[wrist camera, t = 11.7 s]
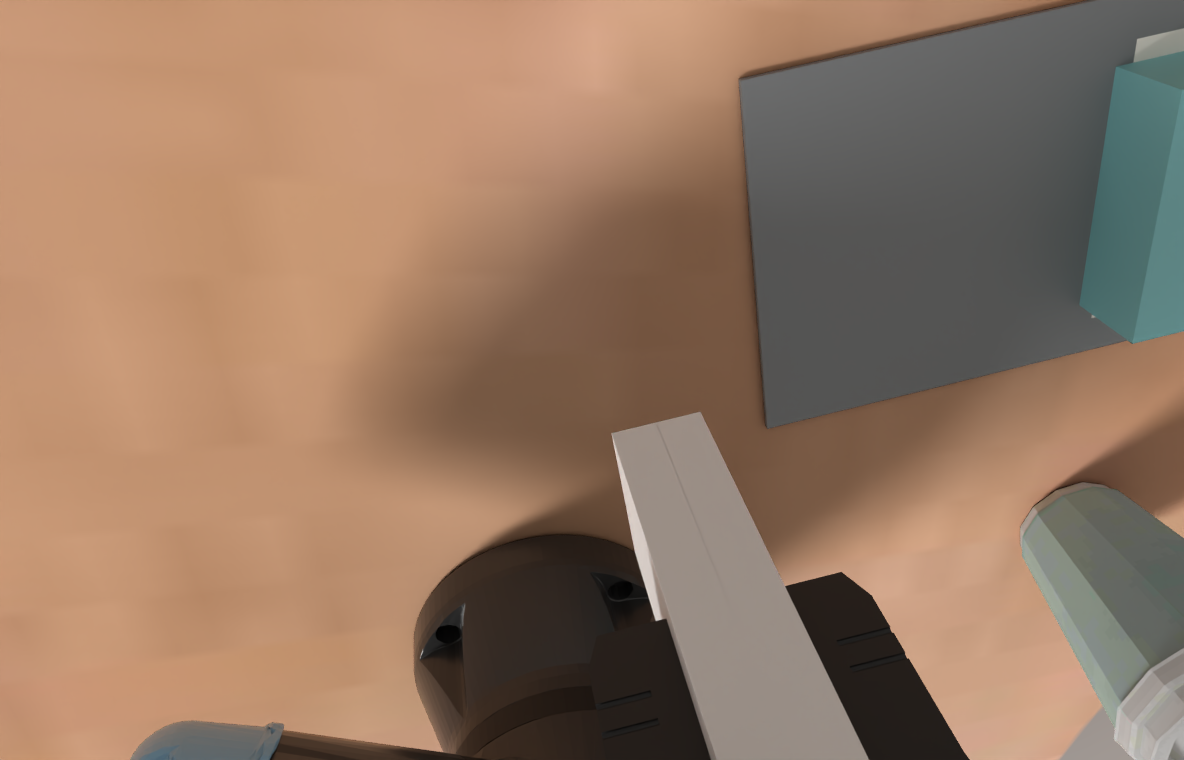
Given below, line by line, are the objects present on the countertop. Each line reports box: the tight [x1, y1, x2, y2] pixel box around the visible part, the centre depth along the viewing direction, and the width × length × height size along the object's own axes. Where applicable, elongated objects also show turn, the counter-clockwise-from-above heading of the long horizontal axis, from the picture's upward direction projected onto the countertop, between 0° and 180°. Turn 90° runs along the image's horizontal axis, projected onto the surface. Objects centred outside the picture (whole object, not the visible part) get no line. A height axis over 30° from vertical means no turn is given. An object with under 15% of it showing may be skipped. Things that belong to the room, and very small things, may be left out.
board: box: [739, 0, 1184, 429], centre depth 42 cm, size 18×34×1 cm, turn 100°
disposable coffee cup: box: [1020, 482, 1184, 760], centre depth 48 cm, size 11×11×15 cm
